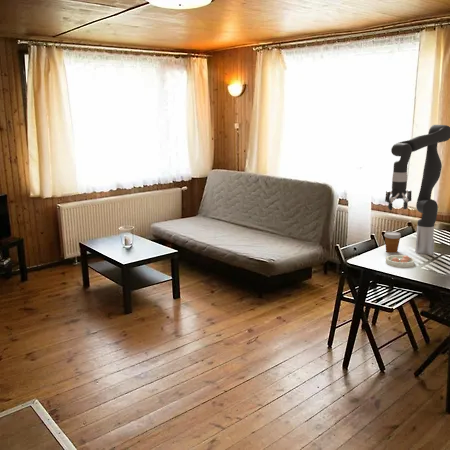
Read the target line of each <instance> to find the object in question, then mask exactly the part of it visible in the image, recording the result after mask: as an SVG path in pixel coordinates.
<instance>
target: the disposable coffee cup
mask: <svg viewBox="0 0 450 450" xmlns="http://www.w3.org/2000/svg"><path fill="white" fill-rule="evenodd" d="M383 236H384V243H385V252H386V253H391V254H392V253H393V254H395V253H398V249H399V244H400V240H401V237H402V235H401V233H400V232H398V231H385V233H384V234H383Z"/></svg>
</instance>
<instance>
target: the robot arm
mask: <svg viewBox="0 0 450 450" xmlns="http://www.w3.org/2000/svg"><path fill="white" fill-rule="evenodd" d="M449 140H450V126H449V125H447V124H433V125H431V126H430V128H429V129H428V134H423V135H422V134H421V135H417V136H414V137H413V138H410V139H408V140H403V141H400V142H399V141H398V142H396V143H395V144H393V145H392V147H391V149H390V150H391V151H390V152H391V154H392V155H393V156H394V157H400V158H399V160H396V161H395V162H394V163H393V170H392V171H393V172H392V179H391V182H392V183H391V191H389V190H386V191H385V199H384V201H385V203H388V206H387V207H388V209H389V211H392V210H393V202H394V201H395V200H399V199H400V200H402V201H403V207H402V208H403V209H404V210H407V208H408V205H409V204H408V203H409V202H412V190H411V189H408V190H407V186H408V185H407V184H408V183H407V182H408V164H409V161H410V158H411V156H412V153H413V152H417V151H419V150H421V149H424V148H426V153H425V160H424V161H425V162H424V166H423V171H422V172H423V173H422V179H421V184H420V188H419V192H418V197H417V200H416V205H415V208H416V210H417V211H418V212H419V213H421V218H420V219H418V220H417V225H416V226H417V227H416V239H415V251H414V252H415V253H417V254H421V255H432V256H433V255H434V248H435V238H434V232H435V224H436V222H437V218H438V209H439V207H438V205H439V204H438V203H437V201H436V200H435V199H432V191H433V189H434V187H435V185H436V184H437V182H438V181H439V180H440V178H441V173H442V160H441V158H440V156H439V153H438V144H439V143H443V142H444V143H445V142H448V141H449Z"/></svg>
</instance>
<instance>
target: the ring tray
mask: <svg viewBox="0 0 450 450" xmlns="http://www.w3.org/2000/svg"><path fill="white" fill-rule="evenodd" d="M404 256H405V255H401V254H392V255H388V256H386V257H385V263H386V264H387V265H389V266H392V267H398V268H410V267H413V266H415V258H413V257H411V256H408V257H409V261H408V262H404V263H402V262H401V260H402V259H403V257H404ZM395 257H396V258H398V259H399V262H394V261H392V259H393V258H395Z"/></svg>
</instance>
